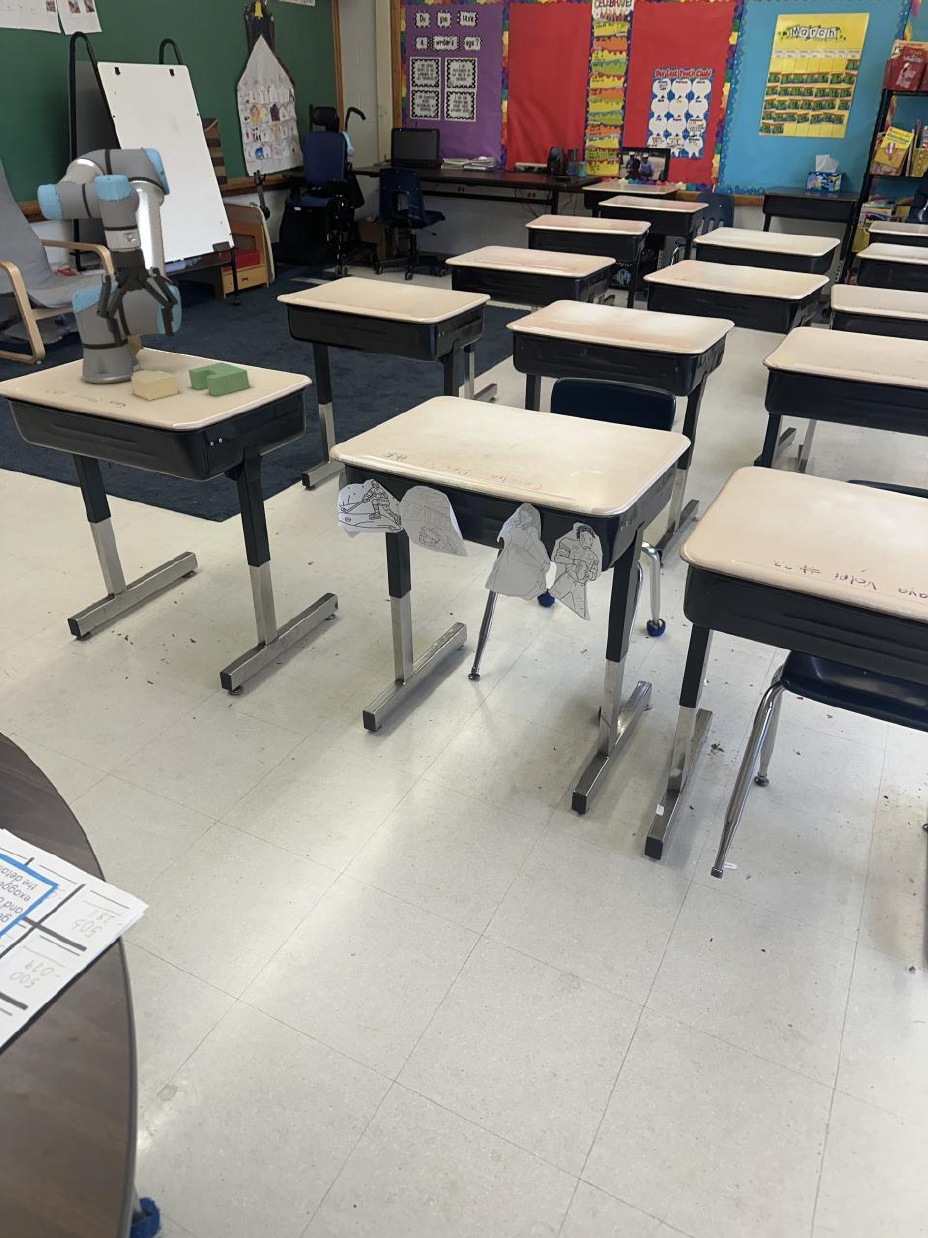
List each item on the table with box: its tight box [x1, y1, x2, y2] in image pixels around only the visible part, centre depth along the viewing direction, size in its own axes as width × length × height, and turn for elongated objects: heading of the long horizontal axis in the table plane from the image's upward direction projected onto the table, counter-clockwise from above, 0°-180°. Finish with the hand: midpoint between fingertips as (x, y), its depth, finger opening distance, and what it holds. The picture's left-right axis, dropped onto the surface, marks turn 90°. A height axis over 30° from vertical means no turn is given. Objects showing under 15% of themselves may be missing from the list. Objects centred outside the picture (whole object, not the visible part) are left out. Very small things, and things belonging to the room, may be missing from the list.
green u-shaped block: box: [188, 361, 250, 397], centre depth 223 cm, size 12×10×4 cm
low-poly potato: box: [127, 335, 146, 357], centre depth 247 cm, size 15×11×12 cm
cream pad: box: [130, 369, 179, 401], centre depth 220 cm, size 8×11×4 cm
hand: (145, 340), depth 213 cm, fingers open, 13 cm apart
